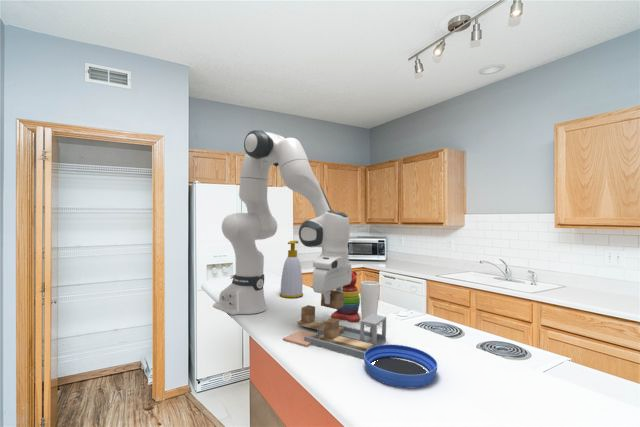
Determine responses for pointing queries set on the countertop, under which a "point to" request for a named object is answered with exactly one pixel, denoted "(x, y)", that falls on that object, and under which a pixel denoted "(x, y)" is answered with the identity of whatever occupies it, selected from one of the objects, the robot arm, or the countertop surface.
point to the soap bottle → (291, 275)
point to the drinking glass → (369, 298)
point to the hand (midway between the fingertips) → (332, 301)
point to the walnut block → (334, 300)
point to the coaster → (299, 338)
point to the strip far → (312, 319)
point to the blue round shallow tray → (400, 365)
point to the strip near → (333, 336)
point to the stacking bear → (349, 303)
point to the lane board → (355, 336)
